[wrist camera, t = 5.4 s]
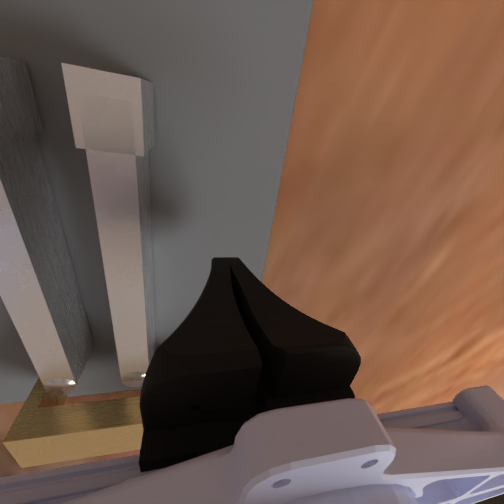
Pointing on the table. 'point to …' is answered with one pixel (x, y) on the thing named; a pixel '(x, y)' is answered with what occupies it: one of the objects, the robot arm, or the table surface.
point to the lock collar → (72, 428)
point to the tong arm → (120, 200)
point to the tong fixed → (36, 244)
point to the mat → (162, 145)
